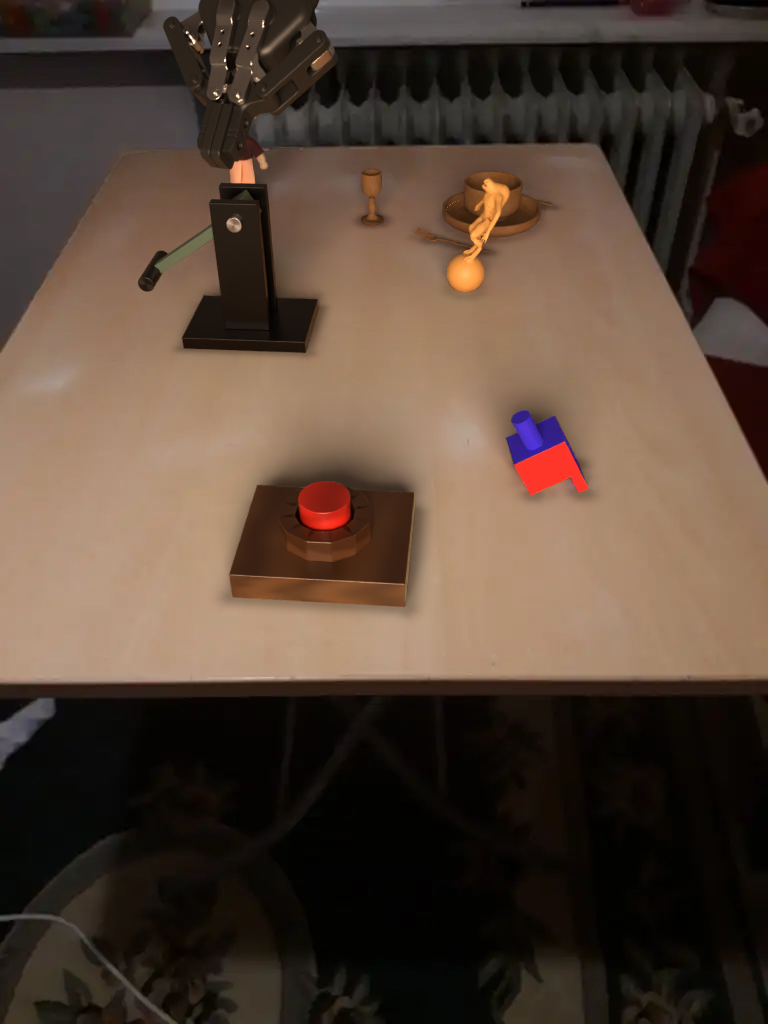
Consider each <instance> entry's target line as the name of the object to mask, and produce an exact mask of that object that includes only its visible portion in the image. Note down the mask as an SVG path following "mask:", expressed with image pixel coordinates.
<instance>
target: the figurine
mask: <svg viewBox="0 0 768 1024" xmlns="http://www.w3.org/2000/svg"><path fill="white" fill-rule="evenodd" d="M482 188H483V189H484V190H485V191H486V193H485V195H484V197H483V199H482V200H481V201H480V203H479V204H478V205H477V206H476V208H475V210H476V211H477V209H478V208H479V209H480V207H481V206H482V204H483V203H484V211H483V213H482V214H481V215H480V216H479V217H478V218H477V219H476V220H475V221H474V222H473V223H472V224H471V225H470V226H469V232H470V234H469V237H470V240H471V241H472V242H473V245H472V246H473V247H472V248H468V249H466V250H464V251H463V252H462V253H459V254H457V255H455V256H454V257H453V258H452V259H451V260H450V261H449V263H448V265H447V268H446V278H447V282H448V284H449V285H450V287H452V288H453V289H454V290H455V291H458V292H461V293H469V292H473V291H475V290H477V288H479V287H480V286H481V284H482V282H483V281H484V277H485V266H484V264H483V262H482V261H481V259H480V258H479V257H478V255H479V254H480V252H482V251H481V250H482V249H483V243H484V244H486V243H487V241H488V239H489V238H490V237H489V234H490V231H491V230H492V228H493V227H494V225H495V224H496V222H497V220H498V218H499V217H500V214H501V209H502V208H503V206H504V205H505V203H506V202H507V200H508V198H509V195H510V190H509V187H508V186H507V185H505V184H501V183H496V182H494V181H493V180H491V179H490V178H486V179H485V180H484V184H483V185H482ZM479 209H478V210H479ZM475 210H474V211H475ZM484 232H486V233H484ZM482 235H484V236H483V237H482Z"/></svg>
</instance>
